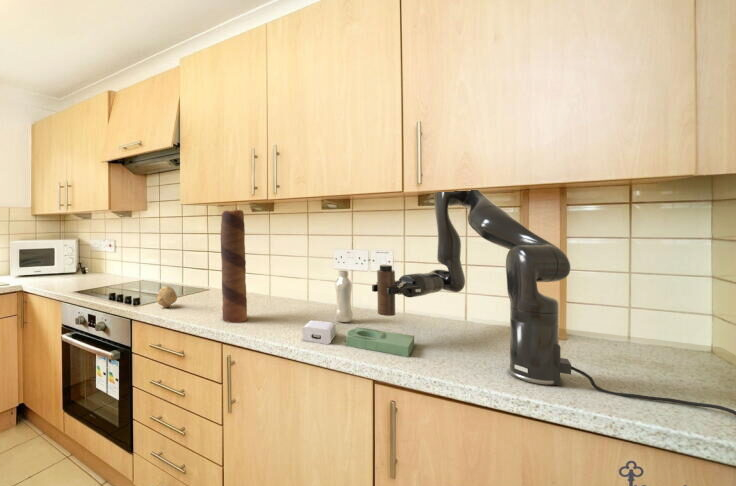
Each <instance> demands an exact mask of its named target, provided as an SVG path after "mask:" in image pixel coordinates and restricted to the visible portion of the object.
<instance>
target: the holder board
mask: <svg viewBox="0 0 736 486" xmlns="http://www.w3.org/2000/svg"><path fill="white" fill-rule="evenodd" d="M346 333H347V334H346V336H345V346H346V347H347V346H348V347H353V348H357V349H363V350H367V351H368V350H369V351H374V352H379V353H380V352H381V353H385V354H390V355H396V356H400V357H401V356H402V357H406V358H408V357H410V356H411V355H410V354H411V353H412V351H413V349H414V347H415V345H416V344H415V342H416V341H415V335H411V334H406V333H405V334H404V333H399V332H391V331H386V330H385V331H384V330H380V329H379V330H378V329H373V328H366V327H359V326H356V327H355V328H352V329H349V330H347V331H346Z"/></svg>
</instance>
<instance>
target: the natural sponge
mask: <svg viewBox="0 0 736 486" xmlns="http://www.w3.org/2000/svg"><path fill="white" fill-rule="evenodd" d="M177 300H178V295H177V293H176V291H175V290H174V288H172V286H169V285H168V286H167V285H166V286H163V287H161V288H160V289H159V291H158V293H157V299H156V301H157V304H158V305H160V306H162V307H163V308H169V307H170V306H172V305H173V304H175V303H176V302H177Z"/></svg>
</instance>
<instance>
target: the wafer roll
mask: <svg viewBox="0 0 736 486" xmlns="http://www.w3.org/2000/svg"><path fill="white" fill-rule="evenodd" d="M245 235H246V229H245V215H244V211H243V210H242V209H232V210H228V209H224V210H223V211H222V213H221V222H220V258H221V296H222V320H223V321H225V322H228V323H241V322H246V321H247V320H248V298H247V283H246V277H247V276H246V273H247V272H246V271H247V269H246V265H247V264H246V263H247V261H246V245H245V244H246V243H245V237H246V236H245Z"/></svg>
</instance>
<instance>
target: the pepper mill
mask: <svg viewBox="0 0 736 486" xmlns="http://www.w3.org/2000/svg"><path fill="white" fill-rule="evenodd" d="M376 277H377V278H376V284H377V295H376V296H377V314H378V315H380V316H384V317H393V316H395V315H396V294H393V295H388V294H387V288H389V287H395V280H396V271H395V270H393V265H392V264H391V265H390V264H380V265H379V269H377V271H376Z"/></svg>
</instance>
